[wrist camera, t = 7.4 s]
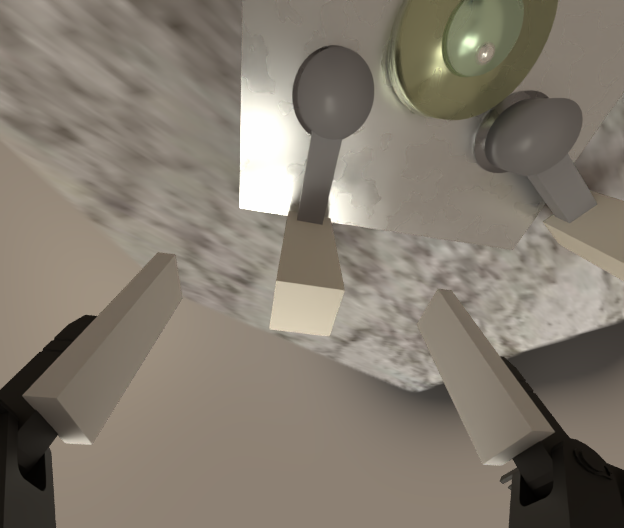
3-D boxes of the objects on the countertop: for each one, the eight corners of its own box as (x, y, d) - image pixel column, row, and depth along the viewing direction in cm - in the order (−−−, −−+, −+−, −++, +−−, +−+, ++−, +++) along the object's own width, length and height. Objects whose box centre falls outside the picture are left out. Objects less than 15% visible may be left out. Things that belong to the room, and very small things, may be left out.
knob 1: (305, 45, 13) (302, -21, 6) (376, 63, 14) (450, 21, 7) (278, 247, 20) (261, 328, 13) (326, 254, 21) (336, 337, 13)
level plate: (261, -475, 8) (201, -1222, 4) (804, -236, 11) (1192, -499, 6) (245, 199, 21) (226, 228, 16) (497, 239, 23) (546, 274, 18)
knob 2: (472, 140, 16) (607, 172, 9) (535, 81, 14) (763, 60, 7) (554, 248, 21) (688, 327, 13) (609, 212, 19) (795, 280, 12)
